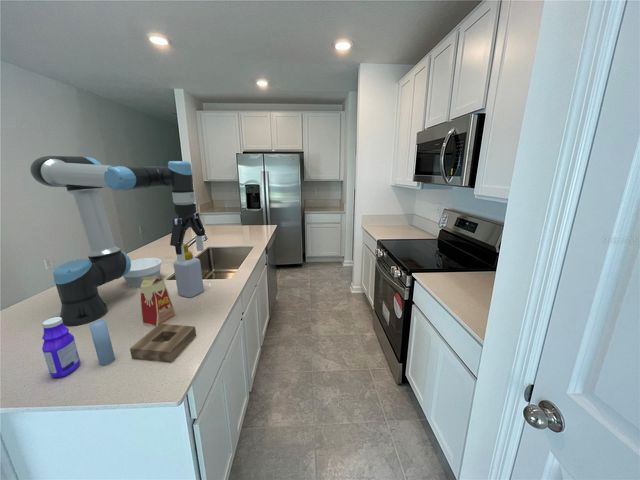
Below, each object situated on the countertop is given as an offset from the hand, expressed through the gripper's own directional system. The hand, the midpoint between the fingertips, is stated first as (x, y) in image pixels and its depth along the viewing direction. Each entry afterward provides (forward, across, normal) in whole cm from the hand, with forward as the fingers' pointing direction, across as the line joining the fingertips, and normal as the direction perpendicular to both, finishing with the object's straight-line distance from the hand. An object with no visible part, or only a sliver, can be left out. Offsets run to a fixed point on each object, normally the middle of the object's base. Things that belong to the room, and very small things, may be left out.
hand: (191, 256), depth 106 cm
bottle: (+26, -35, +23) cm, 50 cm away
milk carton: (+26, -6, +14) cm, 30 cm away
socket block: (+26, -22, 0) cm, 34 cm away
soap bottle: (+26, +18, +14) cm, 35 cm away
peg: (+26, -30, +14) cm, 43 cm away
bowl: (+27, +28, +46) cm, 60 cm away
